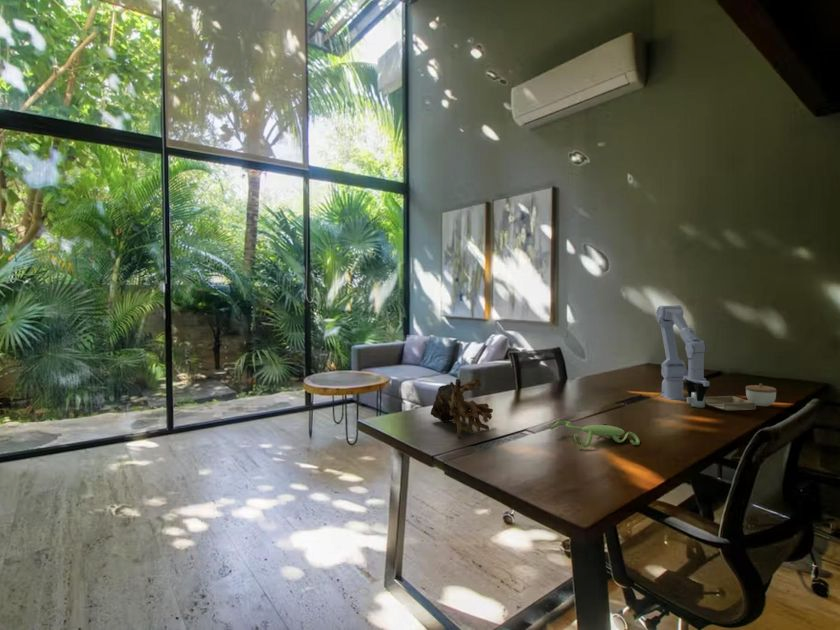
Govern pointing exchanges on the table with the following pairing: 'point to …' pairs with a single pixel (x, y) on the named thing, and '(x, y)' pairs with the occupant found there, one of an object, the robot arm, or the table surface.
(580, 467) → the table surface
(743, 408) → the beige shallow tray
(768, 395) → the lidded jar
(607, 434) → the figurine
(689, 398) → the jug
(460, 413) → the decorative coral sculpture
